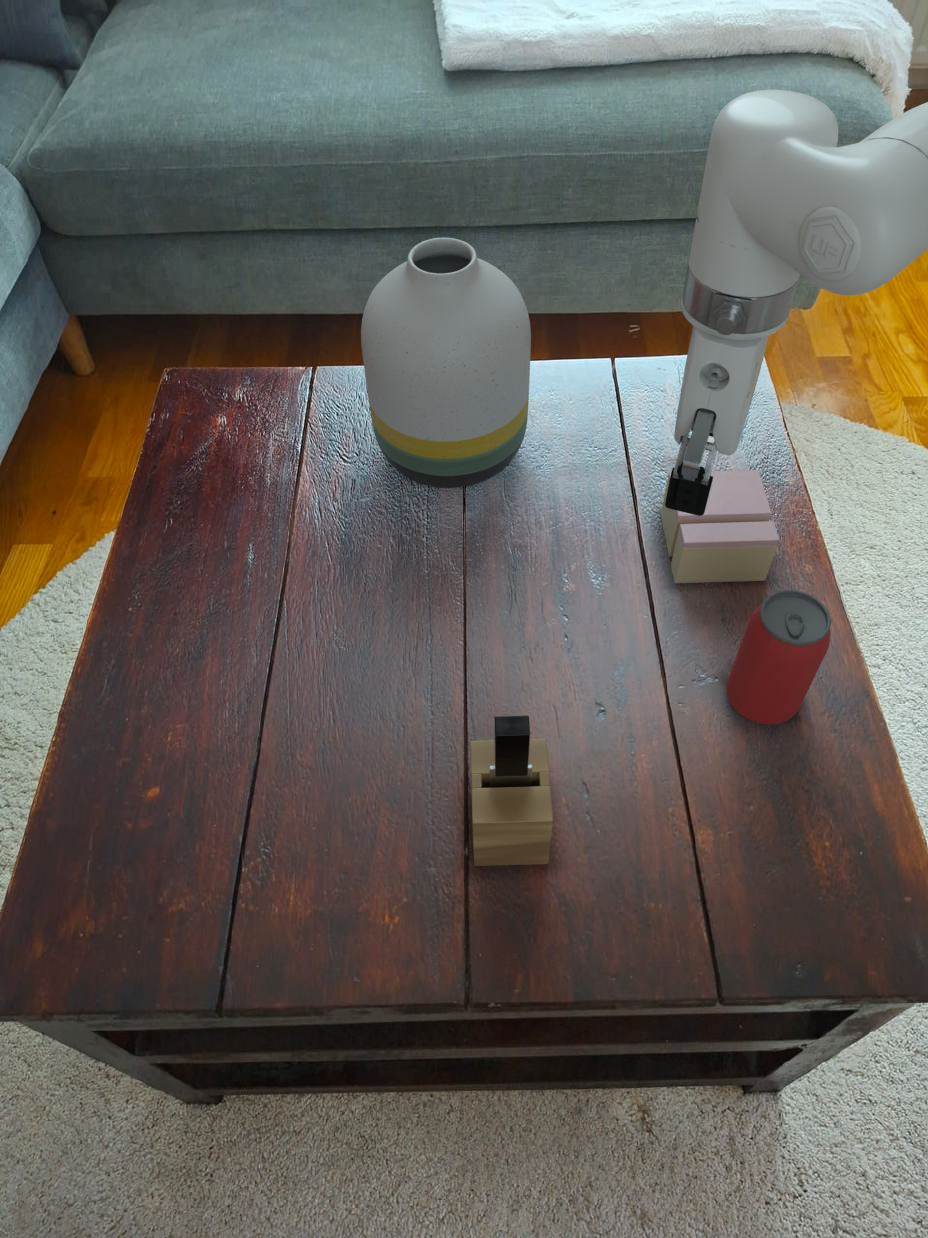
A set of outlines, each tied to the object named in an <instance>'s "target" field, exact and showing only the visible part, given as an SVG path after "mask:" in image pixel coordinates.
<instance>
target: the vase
mask: <svg viewBox="0 0 928 1238" xmlns="http://www.w3.org/2000/svg"><path fill="white" fill-rule="evenodd" d="M526 305H527V304H526V302H525V300H524V298H523V296H522V293H521V292H520V290H519V288H518V286H517V285H516V284H515V283H514V281H513V280H512V279H511V278H510V277H509V276H508V275H507V274H505V273H504V272H503V271H502V270H500V269H499V268H498V267H496V266H494V265H493V264H491V263H489V262H488V261H486V260H483V259H481V258H479V257H478V255H477V252H476V250H475V248H474V247H473V246H472V245H470V243H468V242H466V241H464V240H461V239H457V238H453V237H434V238H430V239H426V240H423V241H421V242H418V243H417V244H416V245H414V246H413V247H412V248H411V249H410V251H409V252H408V255H407V260H406V261H405V262H403V263H401V264H399V265H397V266H396V267H395V268H393V269H392V270H390V272H388V273H387V274H385V276H383V277H382V278H381V280H380V281H378V283H376V285H375V286H374V288H373V289H372V291H371V293H370V294H369V297H368V299H367V301H366V304H365V307H364V309H363V313H362V314H363V315H362V318H361V327H360V344H361V345H360V347H361V355H362V361H363V369H364V376H365V383H366V391H367V398H368V405H369V411H370V412H369V413H370V418H371V424H372V429H373V430H372V431H373V435H374V437H375V441H376V443H377V445H378V447H379V449H380V451H381V453H382V455H383V456H384V458H385V459H386V461H387V462H388V463H389V465H391V467H393V469H394V470H396V471H397V472H398V473H399V474H400V475H402V476H404V477H405V478H406V479H409V480H410V481H413V482H415V483H417V484H421V485H424V486H428V487H432V488H439V489H457V488H466V487H471V486H475V485H477V484H481V483H484V482H485V481H488V480H490V479H492V478H494V477H495V476H496V475H498V474H500V473H501V472H502V471H504V469H506V467H508V465H510V464H511V463H512V461H513V459H514V458H515V457H516V455H517V454H518V452H519V450H520V448H521V446H522V443H523V441H524V438H525V436H526V430H527V425H528V417H529V400H530V399H529V398H530V380H531V379H530V377H531V351H532V349H531V348H532V332H531V331H532V330H531V321H530V316H529V312H528V311H529V310H528V309H527V306H526Z"/></svg>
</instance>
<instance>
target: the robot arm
mask: <svg viewBox="0 0 928 1238" xmlns="http://www.w3.org/2000/svg"><path fill="white" fill-rule="evenodd" d="M838 142H839V124H838V120H837V118H836V115H835V114H834V112H833V111H832V110H831V108H830V107H828V106H827V104H825V103H824V102H822V101H821V100H819V99H818V98H816V97H813V96H812V95H809V94H806V93H803V92H798V91H793V90H786V89H759V90H753V91H750V92H746V93H743V94H740V95H738V96H737V97H735V98H734V99H732V100H729V102H728V103H727V104H725V106H724V107H723V108H722V109H721V110H720V112H719V113H718V116H716V118H715V120H714V122H713V126H712V129H711V134H710V138H709V144H708V150H707V155H706V161H705V166H704V172H703V178H702V183H701V189H700V194H699V199H698V200H699V201H698V206H697V211H696V217H695V223H694V229H693V235H692V240H691V246H690V251H689V252H690V253H689V257H688V263H687V268H686V273H685V279H684V285H683V291H682V295H681V301H680V309H681V312H682V314H683V317H684V318H685V319H686V320H687V322H689V323H690V324H691V325H692V330H691V335H690V339H689V345H688V348H687V349H688V351H687V355H686V360H685V365H684V371H683V377H682V380H681V381H682V382H681V388H680V392H679V399H678V406H677V412H676V417H675V418H676V420H675V425H674V435H673V438H674V440H675V442H676V443H677V444H678V445H680V446H679V450H678V454H677V458H676V462H675V466H674V467H672V468H671V472H670V473H671V476H670V481H669V486H668V491H667V496H666V501H665V506H666V507H667V508H669V509H673V510H677V511H681V512H685V513H689V514H694V515H698V516H702V515H703V514H704V512H705V509H706V505H707V501H708V497H709V493H710V489H711V485H712V481H713V476H710V475H711V472H713V471H712V470H713V468H714V467H713V466H714V464H715V460H716V456H717V453H718V454H721V455H726V456H728V457H729V456H731V455H734V454H735V453H736V452H737V450H738V447H739V445H740V443H741V442H740V441H741V438H742V435H743V432H744V428H745V426H746V422H747V418H748V414H749V412H750V409H751V405H752V402H753V398H754V393H755V391H756V386H757V383H758V380H759V376H760V372H761V369H762V364H763V361H764V357H765V354H766V350H767V345H768V341H769V338H770V336H772V335H774V334H776V333H778V332H779V331H780V330H781V329H782V328H784V326H785V325H786V324H787V322H788V320H789V316H790V313H791V308H792V305H793V302H794V300H795V299H794V298H795V295H796V291H797V288H798V285H799V281H800V277H803V278H804V279H806V280H807V281H809V282H810V283H812V284H813V285H815V286H817V287H818V288H820V289H822V290H824V291H827V292H829V293H832V294H835V295H839V296H848V297H849V296H861V295H864V294H868V293H870V292H873V291H875V290H877V289H879V288H880V287H882V286H884V285H886V284H888V282H890V281H891V280H892V279H894V278H895V277H896V276H897V275H899V274H900V273H901V272H902V271H904V270H905V269H906V268H907V267H908V266H909V265H910V264H912V263H914V261H916V260H917V259H918V258H919V257H921V256H922V255H923V254H924V253H925V252H926V251H927V250H928V101H927V102H925V103H922V104H919V105H917V106H915V107H913V108H910V109H908V110H907V111H905V112H903V113H901V114H900V115H898V116H897V117H895V118H894V119H892V120H890V121H888V122H887V123H885V124H884V125H882V126H880V127H879V128H878V129H876V130H875V131H873V132H872V133H870V134H869V135H867V136H866V137H865V138H864V139H862V140H860V141H859V142H856V143H852V144H848V145H847V144H846V145H842V146H838ZM709 437H712V438H713V439H714V440H713V442H709V441H708V440H709ZM705 451H707V452H708V451H709V452H708V455H707V458H706V463H705V467H704V466H702V461H703V458H704V454H705Z"/></svg>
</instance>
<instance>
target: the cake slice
mask: <svg viewBox="0 0 928 1238" xmlns="http://www.w3.org/2000/svg"><path fill="white" fill-rule="evenodd" d="M779 543H780V537H779V533H778V530H777V527H776V524H775V521H774V520H769V521H765V522H732V523H698V524H680V527H679V531H678V536H677V540H676V544H675V549H674V553H673V557H671V563H670V567H671V573H672V578H673V582H674V584H696V583H697V584H698V583H699V584H701V583H727V582H728V583H731V582H732V583H733V582H735V583H736V582H765V581H766V580H767V577H768V575H769V571H770V569H771V566H772V562H773V560H774V557H775V554H776V551H777V549H778V546H779Z"/></svg>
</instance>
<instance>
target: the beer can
mask: <svg viewBox="0 0 928 1238" xmlns="http://www.w3.org/2000/svg"><path fill="white" fill-rule="evenodd" d="M748 619H749V620H748V622H747V624H746V627H745V630H744V634H743V636H742V639H741V642H740V645H739V648H738V650H737V653H736V656H735V658H734V661H733V665H732V668H731V670H730V673H729V675H728V677H727V678H728V679H727V681H726V685H725V688H726V696H727V698H728V700H729V703H730V705H731V706H732V708H733V709H734V710H735V711H736V712H737V713H738V714H739V715H741V716H742V717H744V718H745V719H747V720H748V721H751V722H753V723H757V724H759V725H771V726H773V725H777V724H782V723H785V722H787V721H789V720H790V719H792V718H793V717H795V715H796V714H797V712H798V711H799V710H800V709H801V708H800V707H801V706H802V704H803V702H804V700H805V698H806V695H807V694H808V692H809V690H810V687H811V685H812V684H813V681H814V679H815V677H816V675H817V673H818V671H819V669H820V668H821V665H822V663H823V661H824V659H825V656H826V654H827V653H828V650H829V647H830V643H831V636H832V633H831V627H832V618H831V614H830V611H829V610H828V609H827V607H826V605H825V604H824V603H822V601H820V600H819V599H818V598H817V597H815V596H813V595H811V594H809V593H808V592H805V591H802V590H801V591H800V590H797V589H781V590H777V591H774V592H773V593H770V594H769V595H767V596H766V597H765V598H764V600H763V601H762V602H761V603H760V604H759V605H758V607H757V608H756V609H755V610H754V611H753V612H752V614H751V615H750V617H749V618H748Z"/></svg>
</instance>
